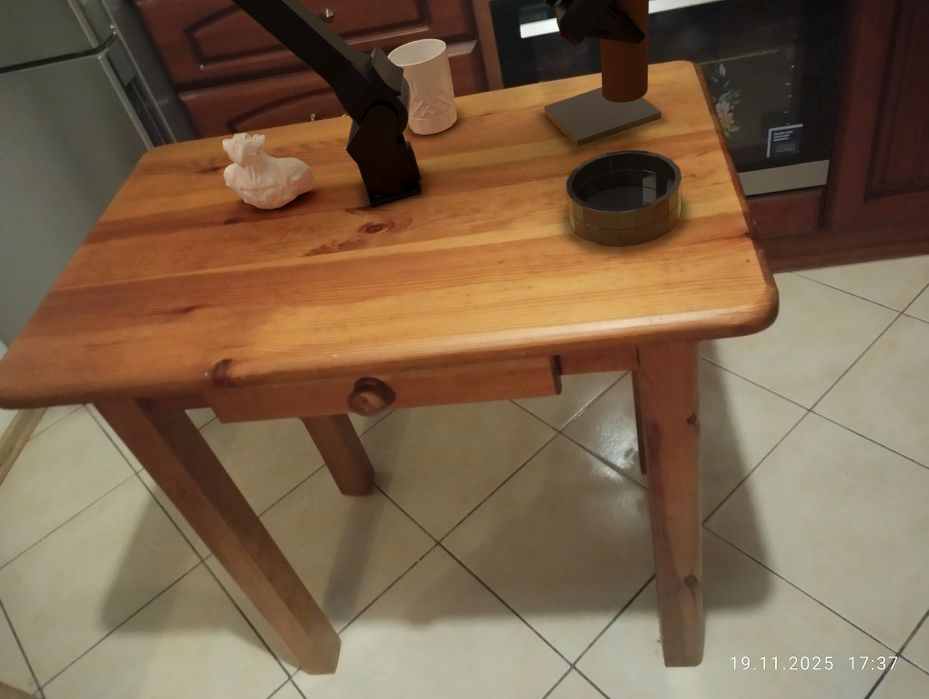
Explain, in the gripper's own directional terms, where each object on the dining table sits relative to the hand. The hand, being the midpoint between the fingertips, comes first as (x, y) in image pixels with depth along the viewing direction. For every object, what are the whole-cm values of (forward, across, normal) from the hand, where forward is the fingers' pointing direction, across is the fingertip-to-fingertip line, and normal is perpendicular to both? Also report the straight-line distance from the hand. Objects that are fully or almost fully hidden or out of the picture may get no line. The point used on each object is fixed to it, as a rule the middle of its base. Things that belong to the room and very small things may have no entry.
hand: (636, 29), depth 71 cm
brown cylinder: (+4, 0, +6) cm, 7 cm away
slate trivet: (+7, +8, +12) cm, 15 cm away
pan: (+6, -15, +12) cm, 20 cm away
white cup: (-8, +15, +27) cm, 32 cm away
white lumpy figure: (-23, +2, +42) cm, 48 cm away
